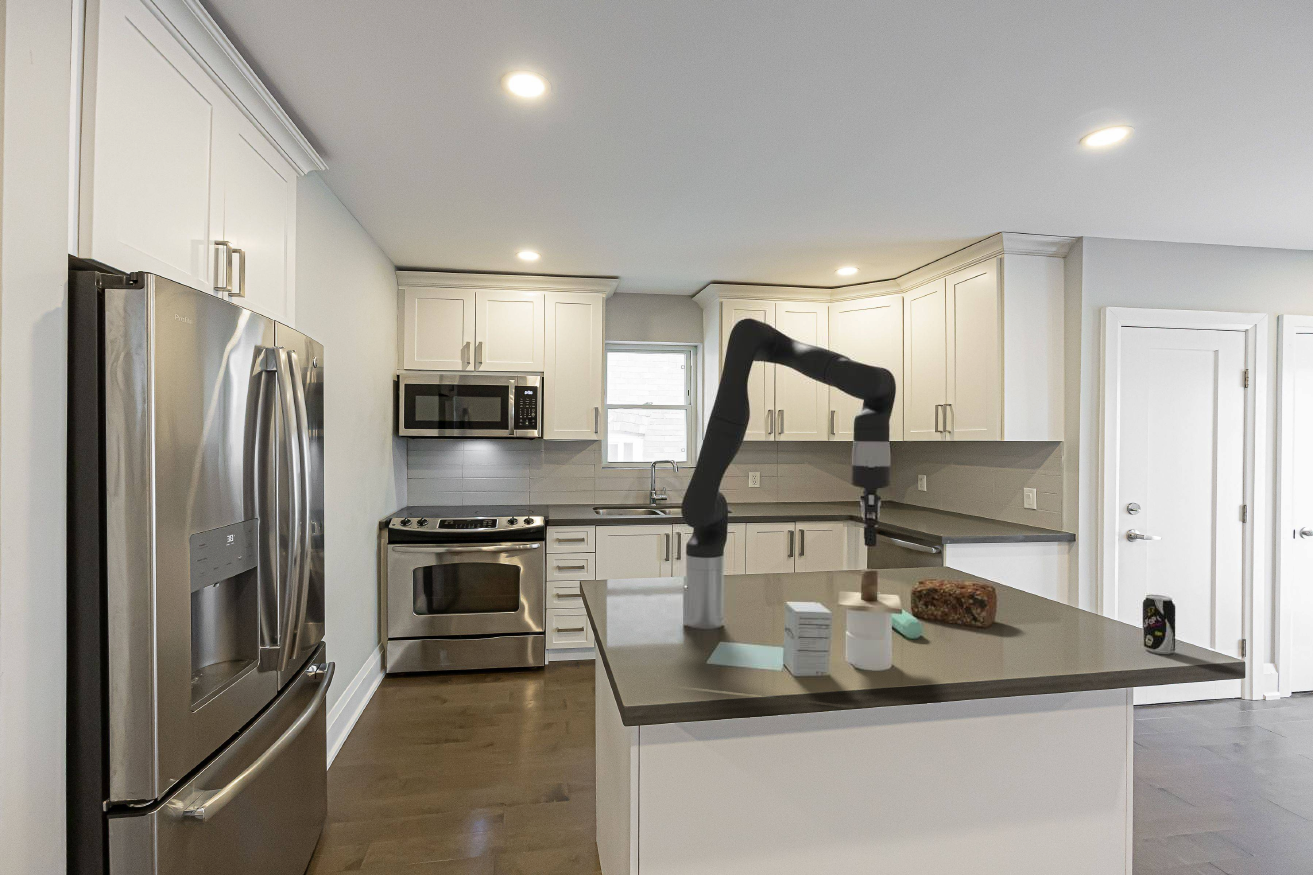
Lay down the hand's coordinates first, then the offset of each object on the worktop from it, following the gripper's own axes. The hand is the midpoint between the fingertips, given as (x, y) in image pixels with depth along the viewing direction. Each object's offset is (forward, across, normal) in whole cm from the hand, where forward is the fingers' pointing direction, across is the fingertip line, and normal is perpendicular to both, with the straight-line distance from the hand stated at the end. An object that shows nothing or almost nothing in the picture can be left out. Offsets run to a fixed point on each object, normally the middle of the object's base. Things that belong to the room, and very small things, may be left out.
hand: (869, 542), depth 138 cm
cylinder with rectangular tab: (+25, 0, 0) cm, 25 cm away
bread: (+25, -43, +22) cm, 54 cm away
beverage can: (+24, -27, +61) cm, 71 cm away
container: (+25, -32, +7) cm, 41 cm away
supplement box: (+25, +9, -12) cm, 29 cm away
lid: (+13, 0, 0) cm, 13 cm away
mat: (+25, +4, -24) cm, 35 cm away
